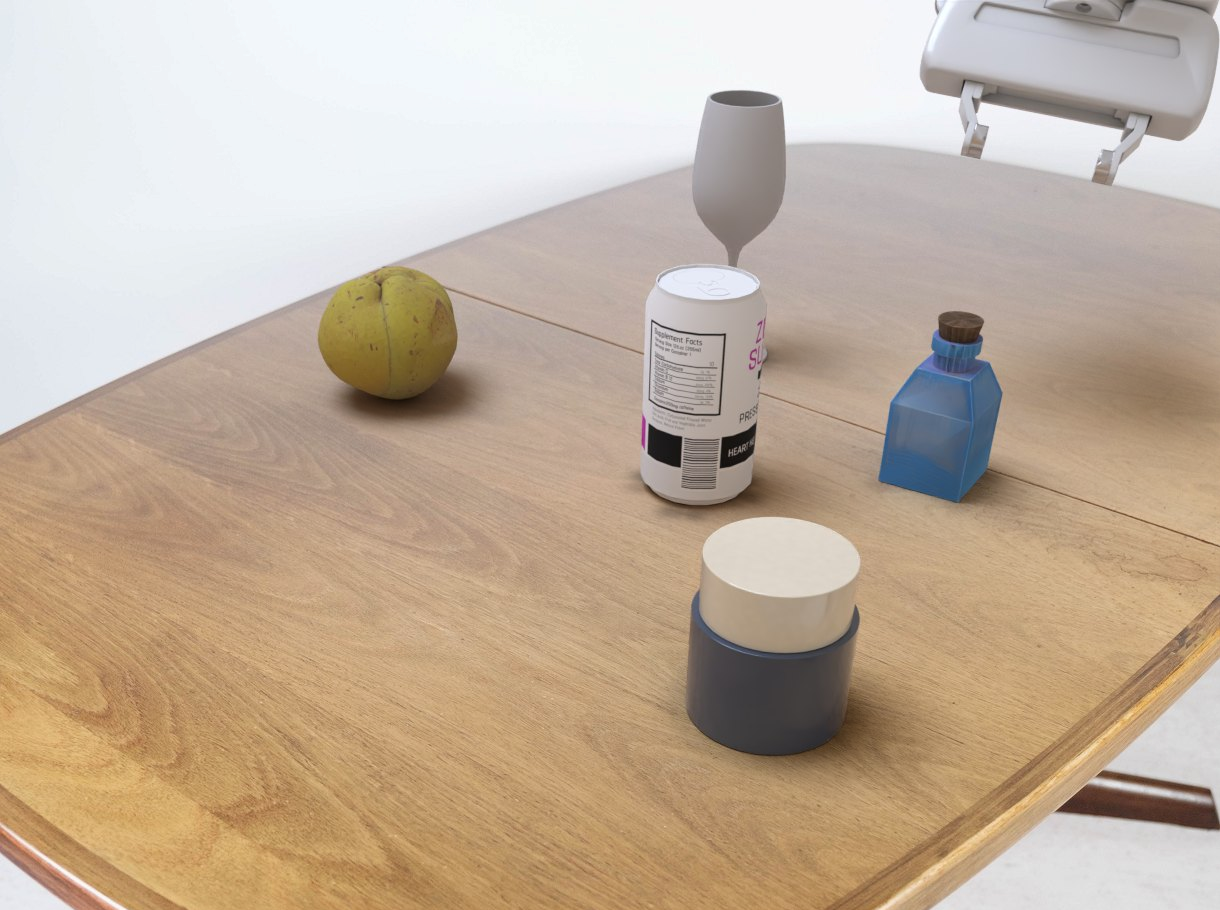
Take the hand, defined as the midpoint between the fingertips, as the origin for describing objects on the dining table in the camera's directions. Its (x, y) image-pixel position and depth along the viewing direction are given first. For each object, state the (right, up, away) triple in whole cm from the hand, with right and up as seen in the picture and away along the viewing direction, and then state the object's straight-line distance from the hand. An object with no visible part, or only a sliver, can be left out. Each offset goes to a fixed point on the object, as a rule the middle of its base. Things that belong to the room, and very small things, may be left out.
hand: (1036, 167), depth 96 cm
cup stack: (-22, -39, -19) cm, 48 cm away
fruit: (-48, -13, +15) cm, 52 cm away
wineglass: (-20, -7, +23) cm, 31 cm away
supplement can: (-24, -22, +3) cm, 33 cm away
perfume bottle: (-6, -21, +5) cm, 23 cm away
